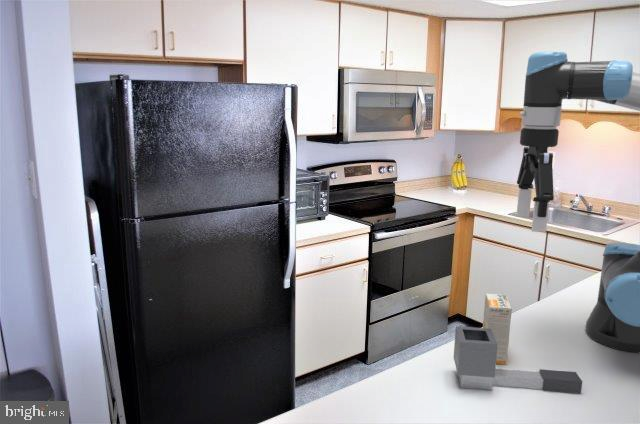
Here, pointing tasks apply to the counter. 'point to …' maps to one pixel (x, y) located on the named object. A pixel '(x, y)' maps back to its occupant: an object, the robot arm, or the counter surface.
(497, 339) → the supplement box
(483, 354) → the hollow square tube
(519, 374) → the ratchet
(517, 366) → the counter surface
